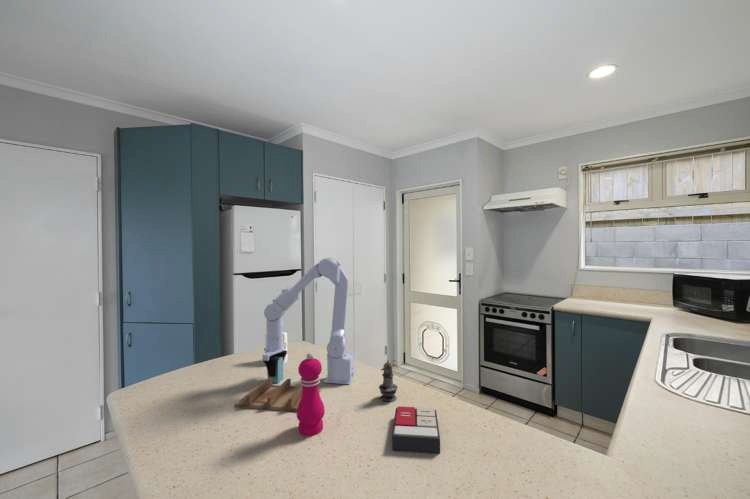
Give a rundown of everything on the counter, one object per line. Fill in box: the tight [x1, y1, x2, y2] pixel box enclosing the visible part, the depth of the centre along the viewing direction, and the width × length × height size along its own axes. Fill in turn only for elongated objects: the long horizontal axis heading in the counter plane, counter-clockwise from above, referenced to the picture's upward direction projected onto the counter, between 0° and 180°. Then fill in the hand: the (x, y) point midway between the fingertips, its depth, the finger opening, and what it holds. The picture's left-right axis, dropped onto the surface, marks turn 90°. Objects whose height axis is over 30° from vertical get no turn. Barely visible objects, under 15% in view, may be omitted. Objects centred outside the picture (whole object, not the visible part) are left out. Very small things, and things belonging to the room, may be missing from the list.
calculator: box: [391, 405, 441, 455], centre depth 81 cm, size 11×4×15 cm
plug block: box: [266, 357, 284, 384], centre depth 115 cm, size 4×4×8 cm
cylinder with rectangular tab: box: [264, 331, 289, 364], centre depth 135 cm, size 9×9×12 cm
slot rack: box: [234, 378, 321, 413], centre depth 101 cm, size 22×14×4 cm, turn 81°
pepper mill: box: [296, 352, 326, 437], centre depth 84 cm, size 7×7×20 cm
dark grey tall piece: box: [378, 360, 398, 403], centre depth 101 cm, size 6×6×12 cm
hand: (275, 373), depth 115 cm, fingers closed on plug block, 4 cm apart
